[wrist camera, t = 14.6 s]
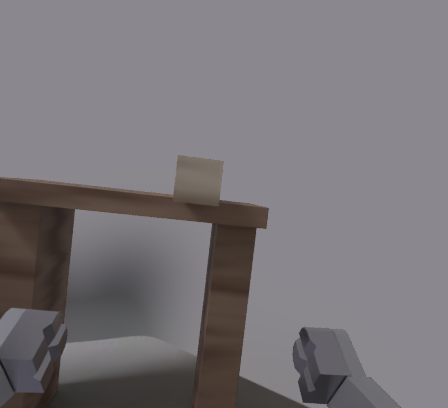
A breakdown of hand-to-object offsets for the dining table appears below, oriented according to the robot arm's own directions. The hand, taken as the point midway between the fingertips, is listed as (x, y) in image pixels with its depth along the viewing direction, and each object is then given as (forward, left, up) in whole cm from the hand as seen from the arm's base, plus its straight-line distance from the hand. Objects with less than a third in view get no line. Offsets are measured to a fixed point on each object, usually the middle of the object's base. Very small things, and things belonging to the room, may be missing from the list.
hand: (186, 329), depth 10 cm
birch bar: (-5, +18, +4) cm, 19 cm away
